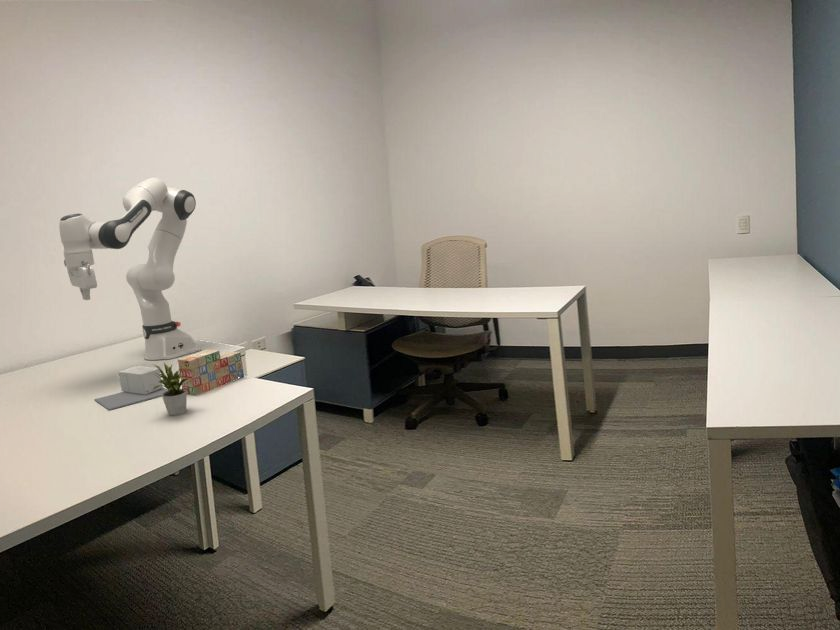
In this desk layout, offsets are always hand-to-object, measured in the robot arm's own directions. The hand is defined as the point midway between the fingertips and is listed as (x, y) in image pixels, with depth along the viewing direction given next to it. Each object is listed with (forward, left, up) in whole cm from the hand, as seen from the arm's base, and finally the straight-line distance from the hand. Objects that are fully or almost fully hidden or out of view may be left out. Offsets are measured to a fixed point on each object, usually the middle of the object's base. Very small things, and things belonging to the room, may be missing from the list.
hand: (86, 299), depth 219 cm
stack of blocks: (-25, +40, -32) cm, 57 cm away
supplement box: (-4, +18, -27) cm, 33 cm away
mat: (-2, +28, -31) cm, 42 cm away
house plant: (-4, +56, -31) cm, 65 cm away
